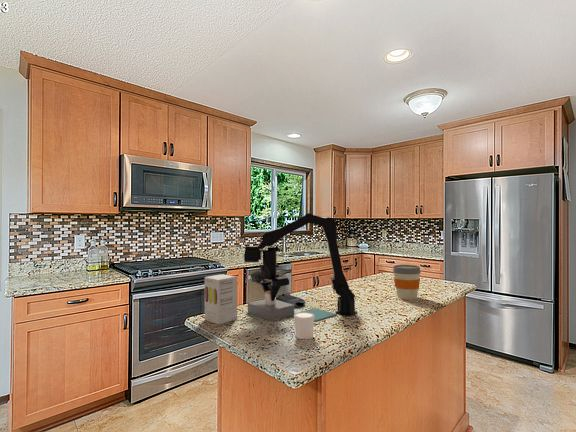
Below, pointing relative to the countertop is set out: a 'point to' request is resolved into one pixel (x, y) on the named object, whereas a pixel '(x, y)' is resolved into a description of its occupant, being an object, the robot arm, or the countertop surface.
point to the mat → (319, 314)
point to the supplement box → (220, 298)
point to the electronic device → (290, 299)
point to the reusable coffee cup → (406, 281)
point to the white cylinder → (304, 325)
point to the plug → (268, 298)
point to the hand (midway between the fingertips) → (270, 300)
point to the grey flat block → (271, 309)
